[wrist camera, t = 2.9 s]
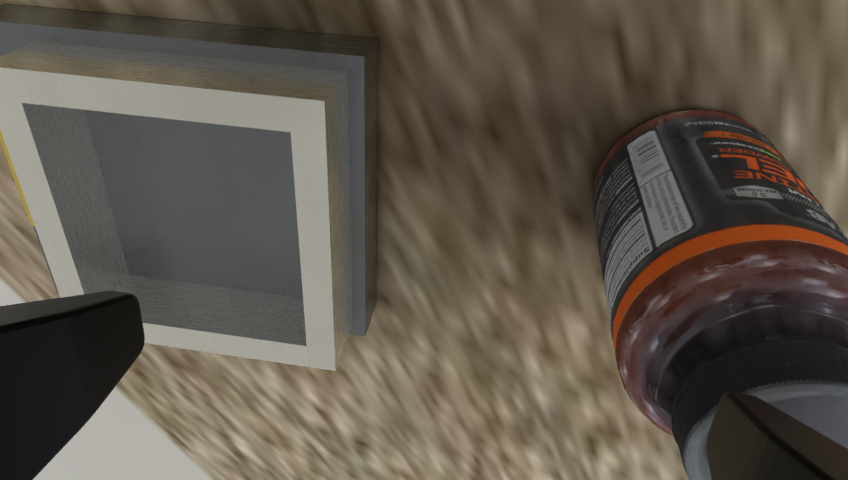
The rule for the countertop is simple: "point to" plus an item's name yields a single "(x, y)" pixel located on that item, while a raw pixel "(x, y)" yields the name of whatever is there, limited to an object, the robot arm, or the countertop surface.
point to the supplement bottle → (720, 279)
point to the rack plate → (200, 174)
